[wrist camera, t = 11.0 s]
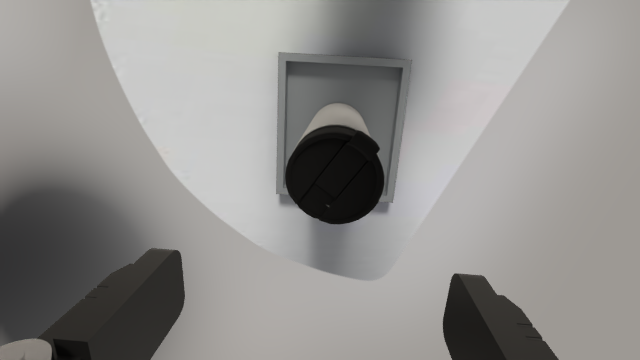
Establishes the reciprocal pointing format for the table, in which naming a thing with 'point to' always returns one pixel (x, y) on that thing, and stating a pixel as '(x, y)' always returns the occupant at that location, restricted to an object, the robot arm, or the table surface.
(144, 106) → the table surface
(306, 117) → the tray
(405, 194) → the table surface
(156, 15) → the table surface
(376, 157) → the travel mug
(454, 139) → the table surface
